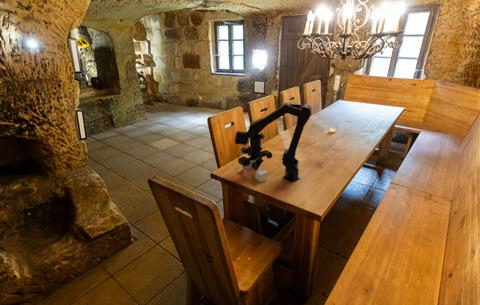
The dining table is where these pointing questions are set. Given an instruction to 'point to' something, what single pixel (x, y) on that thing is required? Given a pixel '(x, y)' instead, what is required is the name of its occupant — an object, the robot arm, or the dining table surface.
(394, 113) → the dining table surface
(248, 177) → the terracotta cube
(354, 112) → the dining table surface
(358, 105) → the dining table surface
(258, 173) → the white cube
